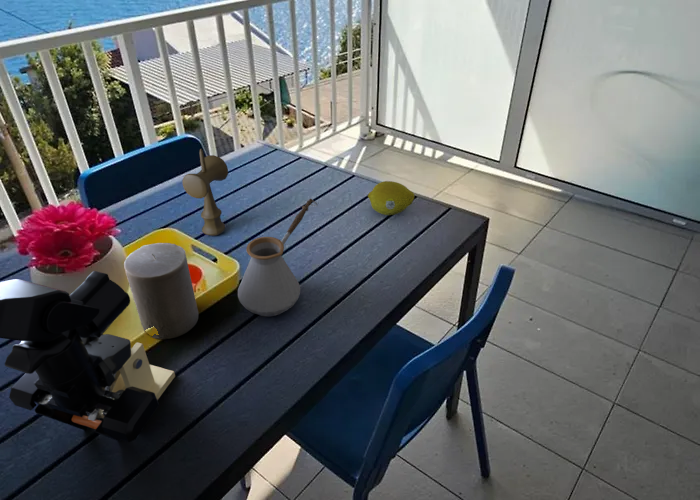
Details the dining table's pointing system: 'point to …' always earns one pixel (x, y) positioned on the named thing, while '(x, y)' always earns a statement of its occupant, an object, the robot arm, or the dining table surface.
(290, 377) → the dining table surface
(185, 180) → the kendama
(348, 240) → the dining table surface
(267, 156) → the dining table surface
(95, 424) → the lever
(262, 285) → the coffee pot
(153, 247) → the pillar candle
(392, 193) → the lemon
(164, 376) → the bracket
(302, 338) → the dining table surface
